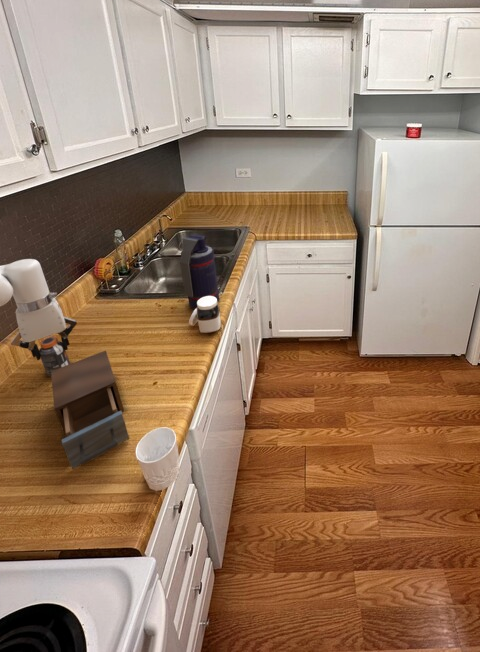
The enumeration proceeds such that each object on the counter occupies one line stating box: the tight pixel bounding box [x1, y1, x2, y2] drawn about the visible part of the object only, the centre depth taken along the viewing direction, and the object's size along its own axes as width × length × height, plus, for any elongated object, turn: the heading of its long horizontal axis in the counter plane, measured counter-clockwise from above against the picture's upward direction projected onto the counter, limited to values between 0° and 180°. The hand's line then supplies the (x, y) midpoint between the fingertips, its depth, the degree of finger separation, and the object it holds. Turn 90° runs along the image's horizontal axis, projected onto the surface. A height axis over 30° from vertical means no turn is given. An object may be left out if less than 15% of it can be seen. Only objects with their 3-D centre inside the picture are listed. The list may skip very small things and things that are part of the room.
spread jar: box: [188, 296, 222, 335], centre depth 120 cm, size 12×11×12 cm
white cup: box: [134, 426, 180, 492], centre depth 72 cm, size 8×8×10 cm
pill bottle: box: [39, 335, 71, 377], centre depth 100 cm, size 6×6×11 cm
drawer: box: [61, 387, 130, 470], centre depth 79 cm, size 18×12×8 cm, turn 39°
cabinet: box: [50, 350, 125, 438], centre depth 89 cm, size 15×13×10 cm
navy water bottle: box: [178, 233, 220, 310], centre depth 130 cm, size 14×12×30 cm
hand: (52, 351), depth 100 cm, fingers closed on pill bottle, 6 cm apart
